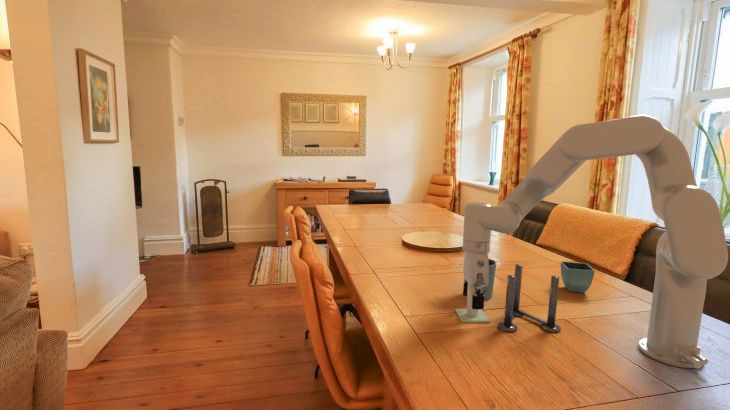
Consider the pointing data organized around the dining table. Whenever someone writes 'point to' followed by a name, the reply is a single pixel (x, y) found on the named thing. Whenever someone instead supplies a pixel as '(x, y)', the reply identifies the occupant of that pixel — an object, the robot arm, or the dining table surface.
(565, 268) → the flower pot
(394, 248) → the dining table surface
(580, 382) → the dining table surface
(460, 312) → the pad
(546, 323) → the upright post stand
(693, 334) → the robot arm
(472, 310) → the dowel
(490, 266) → the grey teal cup
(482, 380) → the dining table surface
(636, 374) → the dining table surface
